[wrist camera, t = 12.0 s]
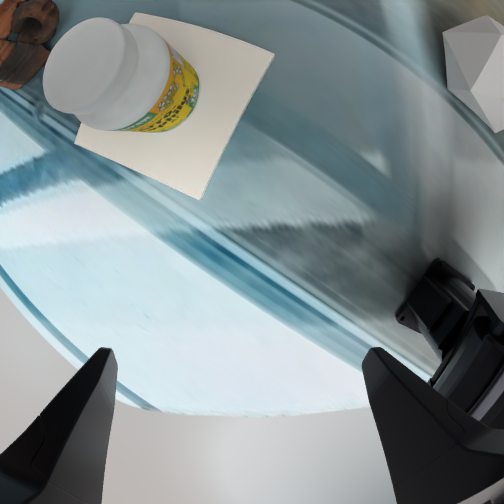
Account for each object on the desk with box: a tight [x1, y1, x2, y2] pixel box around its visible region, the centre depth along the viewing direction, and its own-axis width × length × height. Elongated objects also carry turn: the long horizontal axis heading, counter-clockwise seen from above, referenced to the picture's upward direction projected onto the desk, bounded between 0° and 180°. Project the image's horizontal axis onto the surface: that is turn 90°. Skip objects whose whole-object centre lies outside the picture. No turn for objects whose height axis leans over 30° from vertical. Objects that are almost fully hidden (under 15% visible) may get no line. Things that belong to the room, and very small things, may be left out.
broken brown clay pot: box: [0, 0, 59, 90], centre depth 12 cm, size 12×10×8 cm
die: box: [442, 15, 504, 133], centre depth 11 cm, size 8×9×10 cm
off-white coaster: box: [74, 12, 275, 200], centre depth 16 cm, size 11×11×1 cm
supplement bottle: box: [43, 17, 201, 133], centre depth 12 cm, size 5×5×10 cm
